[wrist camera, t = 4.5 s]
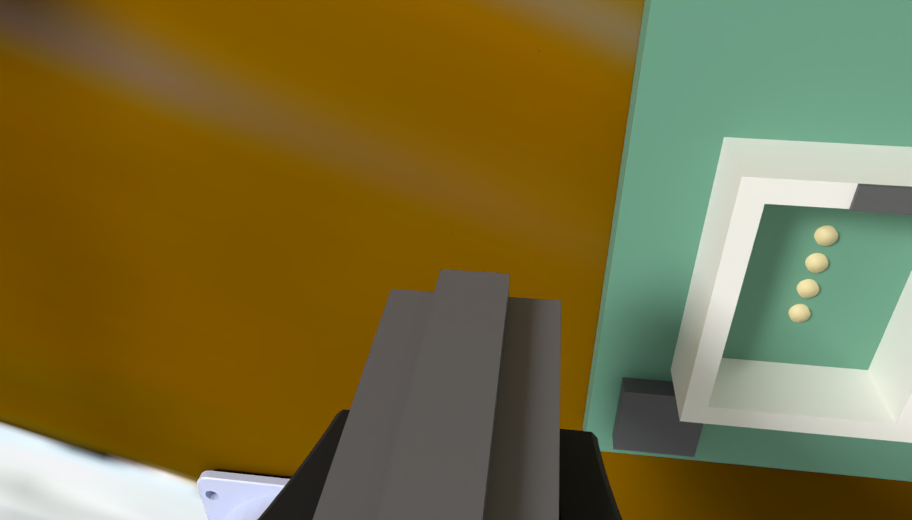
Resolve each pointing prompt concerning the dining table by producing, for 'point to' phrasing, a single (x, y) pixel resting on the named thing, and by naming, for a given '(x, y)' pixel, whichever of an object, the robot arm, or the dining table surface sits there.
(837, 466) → the board
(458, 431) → the plug
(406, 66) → the dining table surface
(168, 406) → the dining table surface
